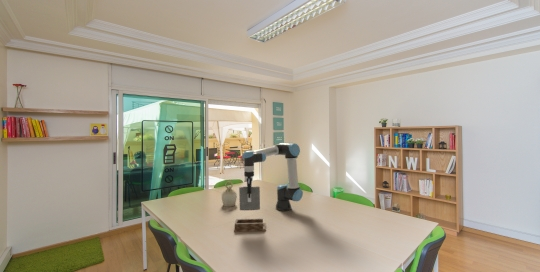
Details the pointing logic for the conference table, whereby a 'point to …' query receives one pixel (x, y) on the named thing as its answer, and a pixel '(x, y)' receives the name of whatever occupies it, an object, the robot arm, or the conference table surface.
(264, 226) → the u rest
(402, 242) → the conference table surface
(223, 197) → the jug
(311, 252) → the conference table surface
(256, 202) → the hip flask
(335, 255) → the conference table surface
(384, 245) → the conference table surface
